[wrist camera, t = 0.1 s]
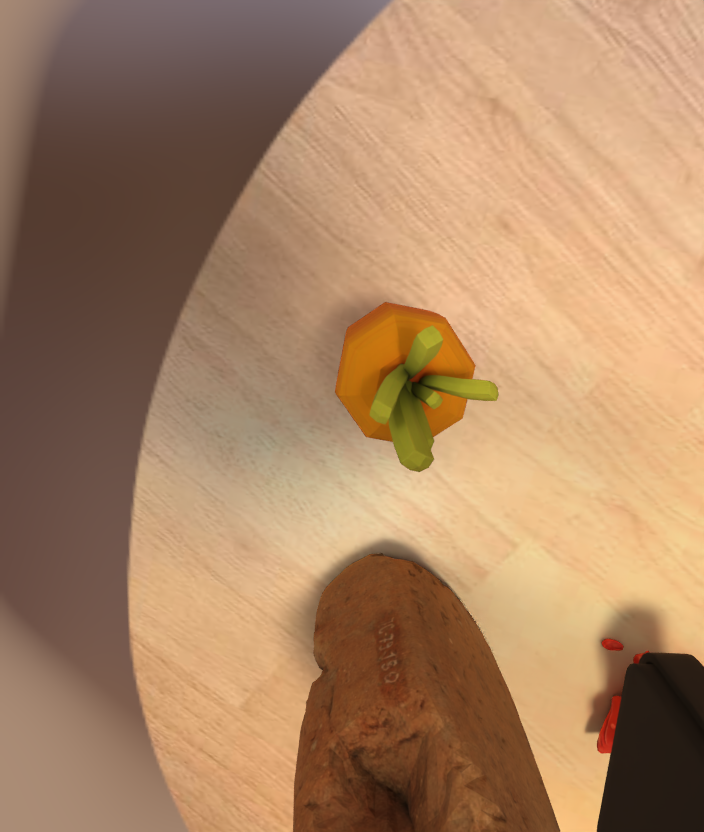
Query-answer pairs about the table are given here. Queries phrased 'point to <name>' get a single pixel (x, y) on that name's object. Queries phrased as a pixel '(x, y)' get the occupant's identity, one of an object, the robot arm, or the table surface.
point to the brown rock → (410, 715)
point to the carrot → (407, 379)
